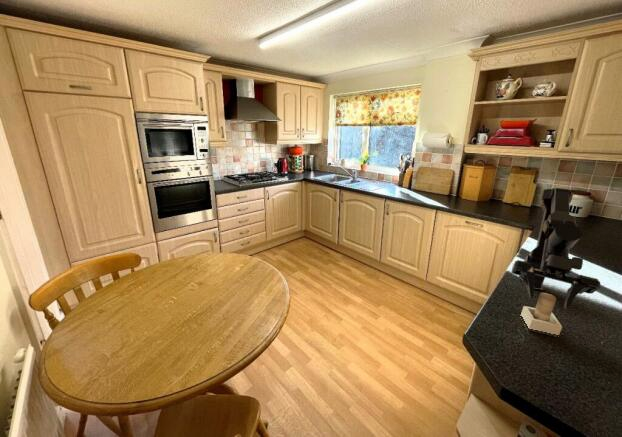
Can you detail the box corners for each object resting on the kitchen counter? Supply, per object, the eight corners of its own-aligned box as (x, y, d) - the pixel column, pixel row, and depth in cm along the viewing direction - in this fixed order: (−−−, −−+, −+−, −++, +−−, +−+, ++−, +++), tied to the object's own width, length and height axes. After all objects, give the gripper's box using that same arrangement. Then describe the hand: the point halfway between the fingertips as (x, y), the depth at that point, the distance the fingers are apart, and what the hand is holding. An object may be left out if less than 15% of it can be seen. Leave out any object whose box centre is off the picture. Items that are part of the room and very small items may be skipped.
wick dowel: (530, 319, 82) (539, 291, 79) (546, 324, 80) (555, 295, 77) (530, 325, 79) (540, 296, 76) (546, 330, 77) (556, 301, 74)
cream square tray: (520, 316, 84) (523, 305, 83) (547, 322, 82) (551, 311, 80) (528, 330, 78) (532, 319, 77) (557, 338, 76) (562, 326, 74)
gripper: (523, 235, 80) (513, 283, 75) (612, 253, 70) (607, 309, 65) (515, 250, 88) (506, 294, 83) (593, 268, 78) (588, 319, 73)
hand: (548, 303), depth 76 cm, fingers open, 7 cm apart
